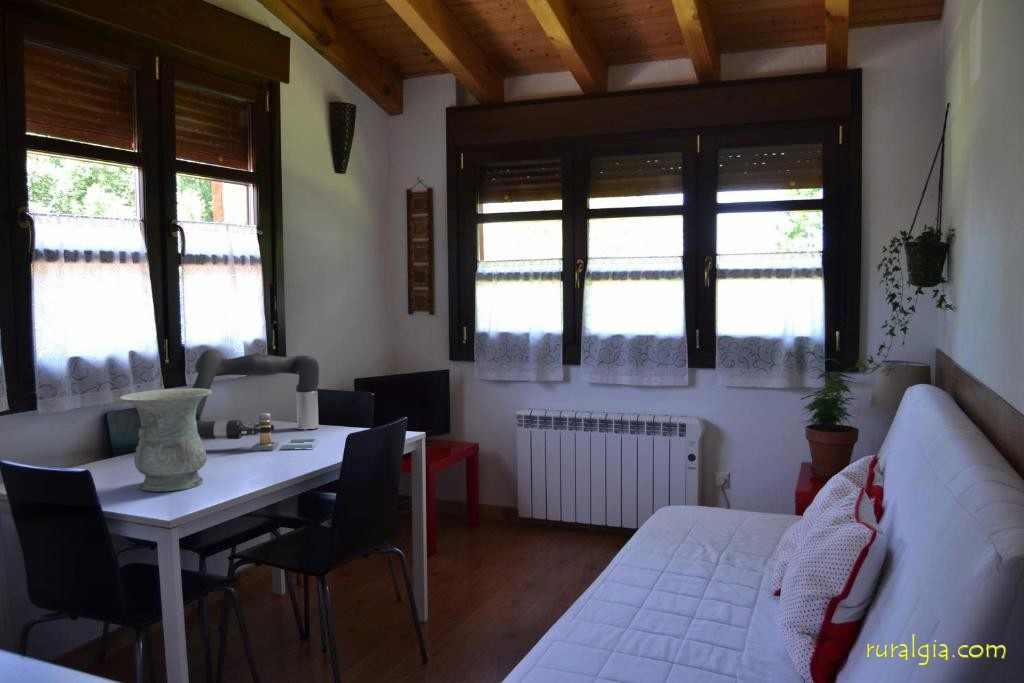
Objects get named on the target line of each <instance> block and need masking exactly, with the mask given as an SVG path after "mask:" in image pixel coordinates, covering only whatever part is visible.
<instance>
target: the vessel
mask: <svg viewBox="0 0 1024 683" xmlns="http://www.w3.org/2000/svg"><path fill="white" fill-rule="evenodd" d="M212 393H213V392H212V390H211V389H210V390H209V389H199V388H192V387H191V388H186V387H185V388H184V387H183V388H165V389H154V390H153V389H151V390H147V391H146V390H145V391H138V392H132V393H131V392H130V393H127V394H124V395H122V396H120V397H119V400H120V401H121V402H125V403H129V404H131V405H132V406H133V407H134V408H135V409H136V410H137V412H138V416H139V419H140V426H141V427H140V428H139V429H138V438H139V440H138V443H137V446H136V447H135V454H134V461H133V462H134V466H135V469H136V470H137V471H138V472H139V473H140V474H142V475H144V476H145V477H144V480H143V482H141V483H140V485H139V486H140V489H141V490H142V489H143V490H142V491H144V490H145V492H157V493H160V492H174V491H181V490H187V489H192V488H195V487H198V486H201V485H202V484H203V477H201V476H200V475H199V473H198V471H200V470H201V469H202V468H203V467H204V466H205V464H206V462H207V451H206V448H205V446H204V444H205V443H204V442H205V441H203V440H202V438H201V437H200V436H199V434H198V431H197V423H196V409H197V406H198V403H199V402H200V400H201V399H202V398H203V397H205V396H207V395H208V396H210V395H212ZM208 396H207V397H208Z"/></svg>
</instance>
